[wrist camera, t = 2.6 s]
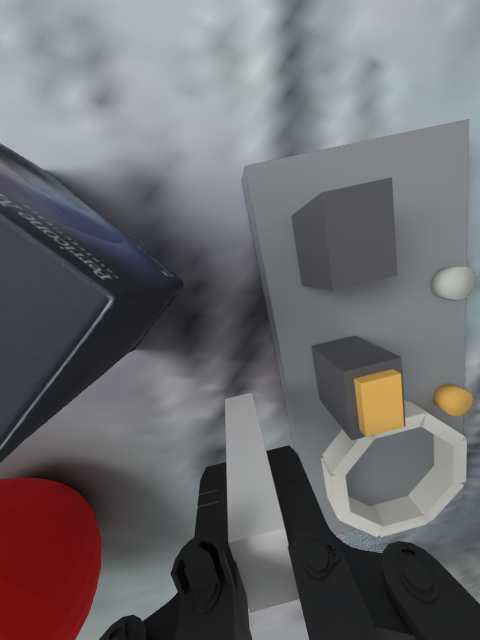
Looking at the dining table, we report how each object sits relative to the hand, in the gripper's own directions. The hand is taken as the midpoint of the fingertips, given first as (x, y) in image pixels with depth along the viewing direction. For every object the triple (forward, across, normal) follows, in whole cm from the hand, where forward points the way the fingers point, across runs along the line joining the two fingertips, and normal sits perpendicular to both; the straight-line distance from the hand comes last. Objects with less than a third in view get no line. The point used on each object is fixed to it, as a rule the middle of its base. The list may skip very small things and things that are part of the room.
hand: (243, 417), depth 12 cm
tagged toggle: (+3, +7, 0) cm, 7 cm away
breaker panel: (+5, +10, -1) cm, 11 cm away
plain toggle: (+3, +7, +8) cm, 11 cm away
